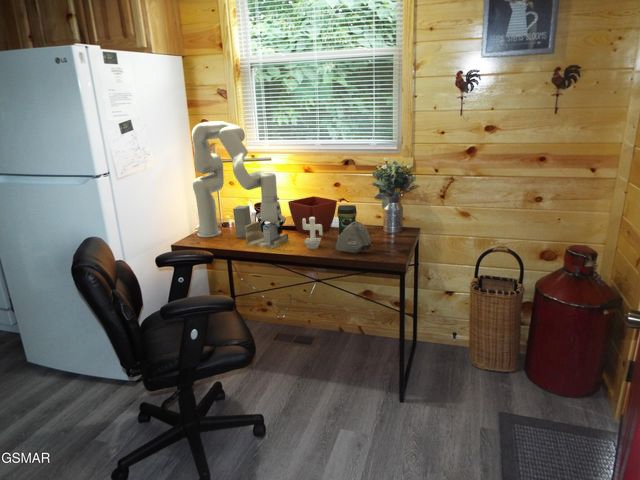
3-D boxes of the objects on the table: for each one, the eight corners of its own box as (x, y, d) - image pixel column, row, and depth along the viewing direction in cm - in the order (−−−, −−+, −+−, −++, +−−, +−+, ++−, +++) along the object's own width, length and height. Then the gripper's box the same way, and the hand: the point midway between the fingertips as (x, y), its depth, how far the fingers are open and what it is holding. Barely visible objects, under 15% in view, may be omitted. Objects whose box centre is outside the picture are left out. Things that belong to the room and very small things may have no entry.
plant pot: (314, 224, 265) (313, 195, 260) (338, 230, 251) (337, 200, 246) (288, 231, 253) (287, 201, 248) (312, 238, 239) (310, 206, 234)
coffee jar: (358, 239, 235) (357, 203, 230) (356, 244, 228) (356, 207, 222) (339, 239, 237) (338, 203, 232) (336, 243, 230) (335, 207, 224)
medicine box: (274, 237, 237) (273, 221, 235) (281, 239, 235) (280, 222, 232) (263, 241, 231) (262, 225, 229) (270, 243, 229) (269, 226, 226)
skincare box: (247, 238, 244) (245, 208, 239) (234, 237, 245) (232, 208, 240) (253, 233, 252) (250, 204, 247) (240, 233, 253) (238, 204, 248)
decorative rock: (372, 251, 217) (372, 220, 213) (369, 255, 211) (369, 224, 207) (338, 249, 222) (337, 218, 217) (334, 253, 216) (333, 222, 211)
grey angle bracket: (246, 244, 233) (244, 226, 230) (263, 237, 245) (261, 219, 242) (273, 248, 225) (271, 229, 222) (288, 240, 237) (288, 222, 234)
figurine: (322, 249, 221) (321, 219, 217) (302, 249, 223) (301, 219, 218) (323, 245, 228) (322, 215, 224) (304, 245, 229) (303, 215, 225)
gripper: (288, 198, 226) (290, 232, 231) (259, 196, 234) (262, 228, 239) (279, 202, 220) (281, 236, 225) (250, 199, 228) (253, 232, 233)
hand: (271, 232), depth 232 cm, fingers open, 9 cm apart
